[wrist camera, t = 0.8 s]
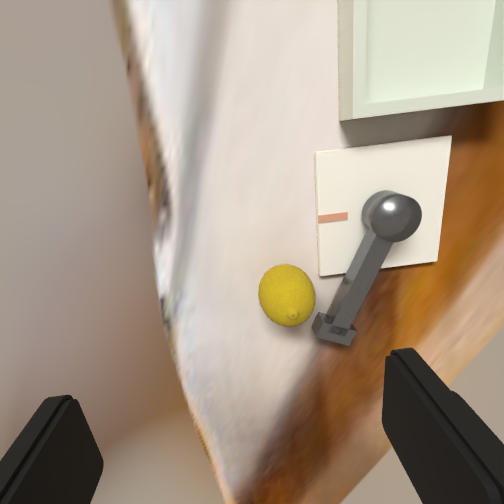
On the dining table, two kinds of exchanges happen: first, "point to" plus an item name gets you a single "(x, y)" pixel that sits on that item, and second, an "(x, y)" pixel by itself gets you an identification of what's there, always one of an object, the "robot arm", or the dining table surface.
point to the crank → (368, 261)
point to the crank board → (370, 182)
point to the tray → (418, 55)
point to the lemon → (287, 295)
